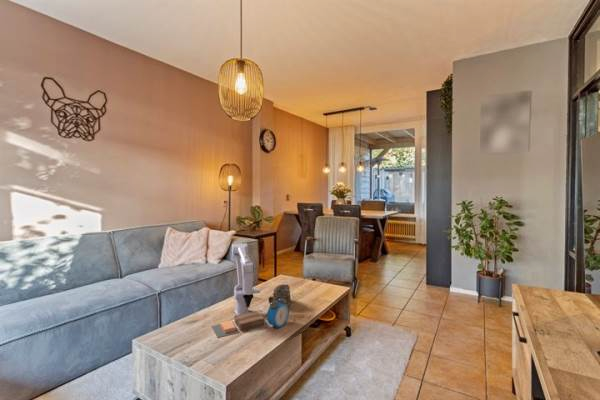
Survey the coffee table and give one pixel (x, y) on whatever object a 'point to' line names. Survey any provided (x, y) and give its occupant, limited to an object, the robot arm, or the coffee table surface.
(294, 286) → the coffee table surface
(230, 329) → the peach rectangular block
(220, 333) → the mat
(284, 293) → the rock
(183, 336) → the coffee table surface
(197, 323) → the coffee table surface
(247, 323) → the tan flat block
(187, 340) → the coffee table surface
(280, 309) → the alarm clock
